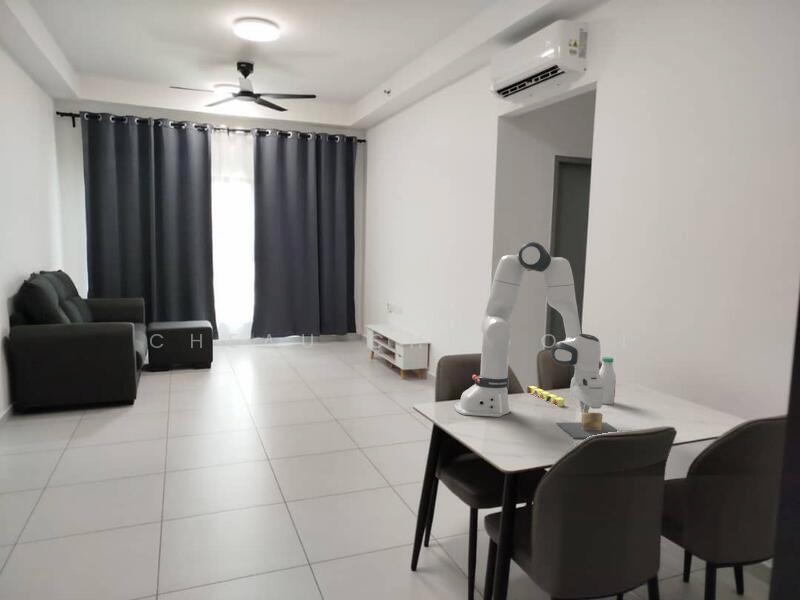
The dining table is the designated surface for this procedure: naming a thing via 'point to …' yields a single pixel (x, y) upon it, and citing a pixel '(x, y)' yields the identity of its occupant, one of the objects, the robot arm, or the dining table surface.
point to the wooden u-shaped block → (591, 421)
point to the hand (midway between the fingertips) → (584, 413)
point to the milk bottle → (608, 380)
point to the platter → (546, 395)
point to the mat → (577, 432)
